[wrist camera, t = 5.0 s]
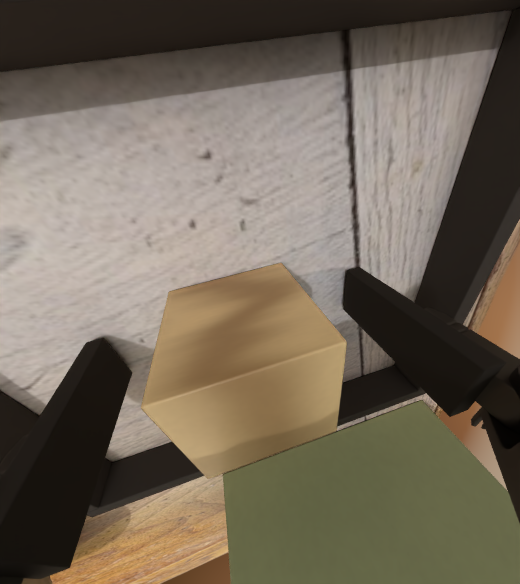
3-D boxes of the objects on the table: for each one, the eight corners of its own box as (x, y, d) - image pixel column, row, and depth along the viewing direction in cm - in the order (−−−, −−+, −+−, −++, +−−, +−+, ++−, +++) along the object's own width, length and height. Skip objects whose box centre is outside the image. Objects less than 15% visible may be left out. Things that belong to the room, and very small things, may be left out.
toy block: (281, 262, 10) (348, 341, 6) (289, 339, 13) (337, 431, 9) (168, 291, 9) (139, 408, 5) (204, 365, 12) (207, 479, 8)
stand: (421, 399, 24) (772, 772, 9) (395, 449, 33) (558, 688, 18) (222, 474, 21) (274, 1176, 7) (249, 507, 30) (298, 850, 15)
